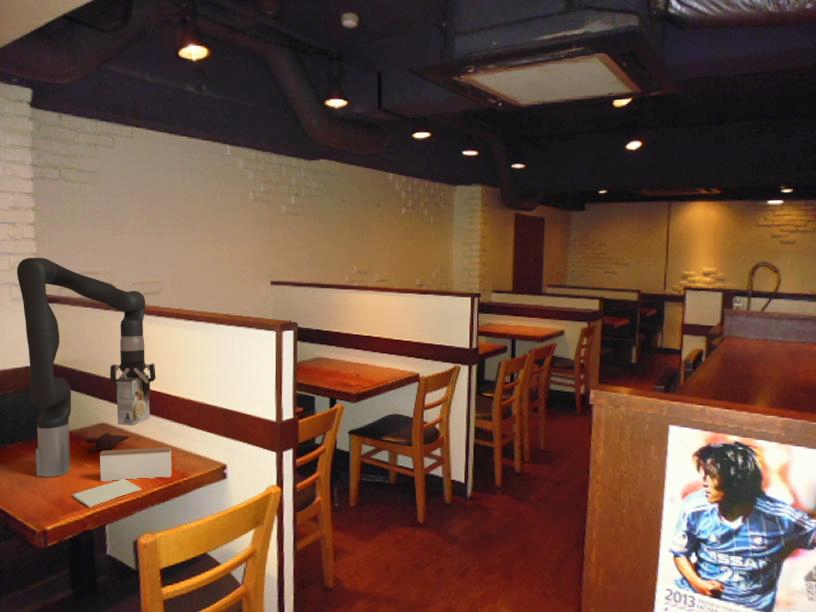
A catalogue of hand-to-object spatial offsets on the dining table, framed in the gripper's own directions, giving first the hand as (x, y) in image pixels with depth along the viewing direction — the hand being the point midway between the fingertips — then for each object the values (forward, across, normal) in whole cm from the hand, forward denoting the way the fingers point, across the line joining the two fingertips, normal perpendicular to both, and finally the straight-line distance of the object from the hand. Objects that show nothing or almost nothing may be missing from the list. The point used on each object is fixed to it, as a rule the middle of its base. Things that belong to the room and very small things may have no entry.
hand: (133, 393), depth 195 cm
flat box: (+28, +2, -8) cm, 29 cm away
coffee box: (+10, 0, 0) cm, 10 cm away
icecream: (+28, -15, +24) cm, 40 cm away
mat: (+28, -4, -19) cm, 34 cm away
